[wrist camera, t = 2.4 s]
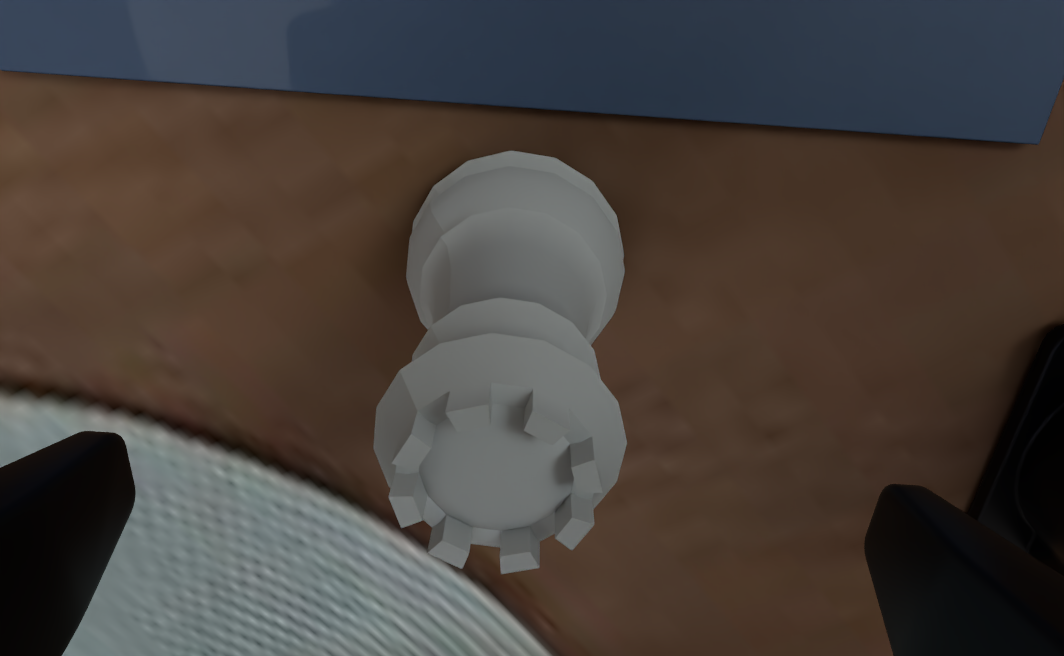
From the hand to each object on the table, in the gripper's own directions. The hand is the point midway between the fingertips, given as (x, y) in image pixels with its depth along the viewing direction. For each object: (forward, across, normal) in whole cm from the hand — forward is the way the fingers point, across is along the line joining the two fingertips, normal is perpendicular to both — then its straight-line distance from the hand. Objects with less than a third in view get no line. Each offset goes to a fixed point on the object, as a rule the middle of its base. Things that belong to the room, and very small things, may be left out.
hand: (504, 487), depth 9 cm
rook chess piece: (+8, 0, 0) cm, 8 cm away
